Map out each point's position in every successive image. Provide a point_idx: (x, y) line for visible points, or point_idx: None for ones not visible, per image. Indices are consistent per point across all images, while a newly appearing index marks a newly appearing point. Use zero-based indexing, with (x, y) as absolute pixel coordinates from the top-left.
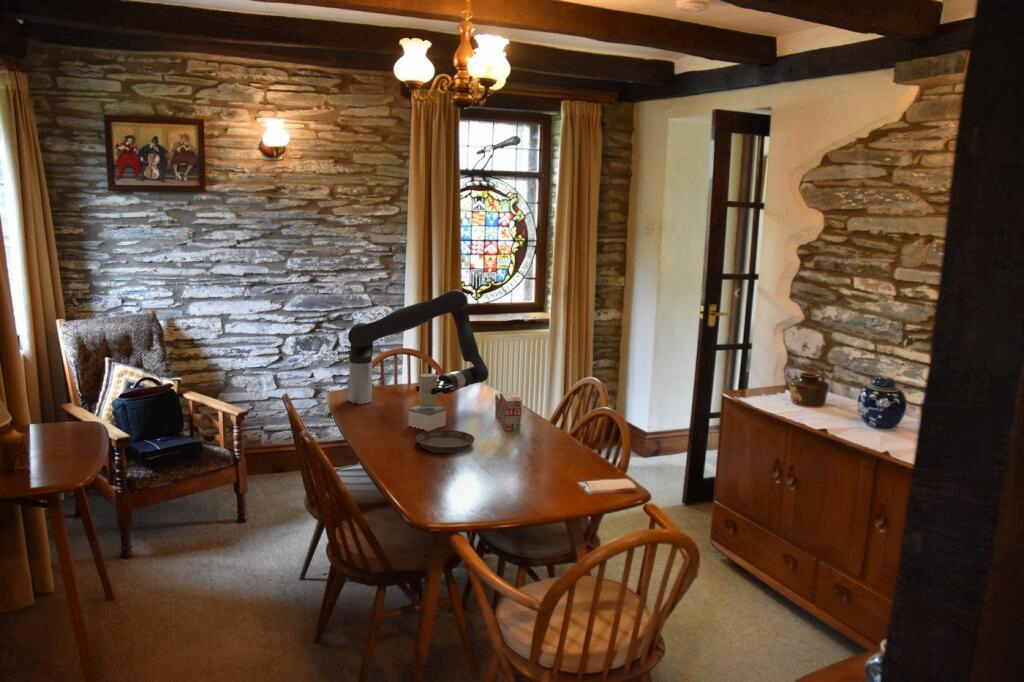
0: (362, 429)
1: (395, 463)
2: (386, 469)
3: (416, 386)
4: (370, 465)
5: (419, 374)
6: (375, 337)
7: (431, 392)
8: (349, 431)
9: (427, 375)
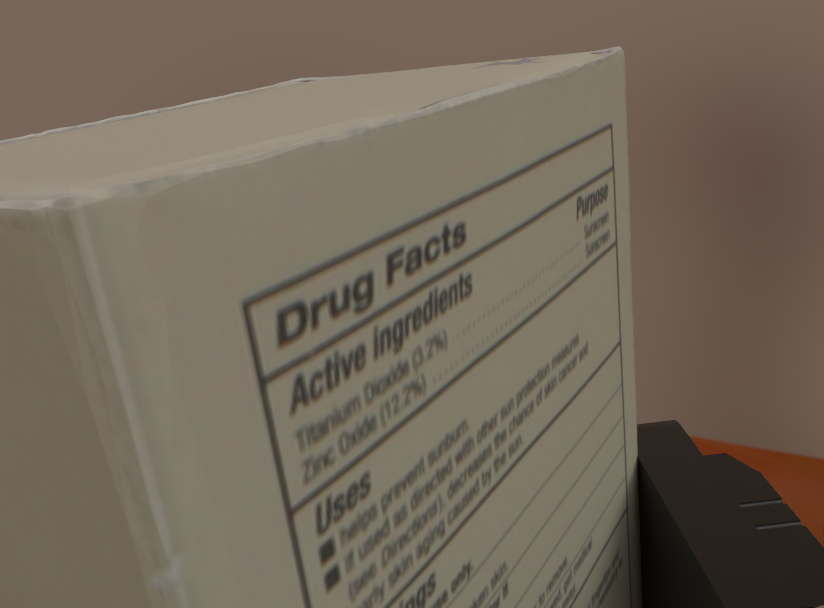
0: (815, 527)
1: None
2: None
3: (657, 429)
4: None
5: (589, 52)
6: None
7: None
8: (802, 458)
9: (242, 100)
